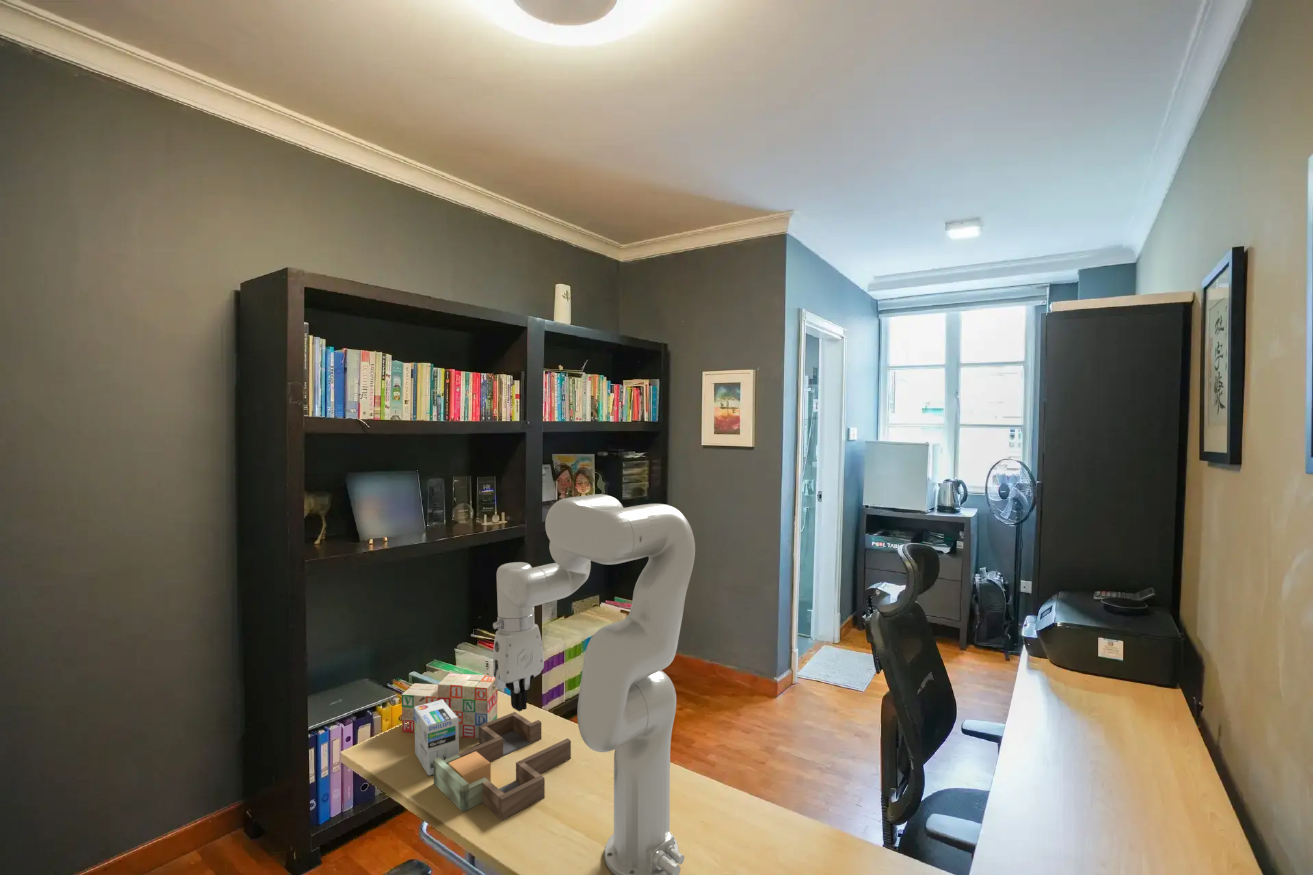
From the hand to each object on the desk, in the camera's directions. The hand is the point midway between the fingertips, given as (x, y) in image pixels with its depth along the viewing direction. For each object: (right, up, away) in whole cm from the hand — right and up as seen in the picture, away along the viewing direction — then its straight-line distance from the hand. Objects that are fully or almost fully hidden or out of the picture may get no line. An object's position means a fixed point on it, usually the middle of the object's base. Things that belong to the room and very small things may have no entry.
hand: (519, 708), depth 127 cm
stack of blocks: (-20, -13, +16) cm, 29 cm away
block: (-9, -13, -6) cm, 17 cm away
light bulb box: (-19, -13, +3) cm, 23 cm away
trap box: (-2, -13, 0) cm, 13 cm away
